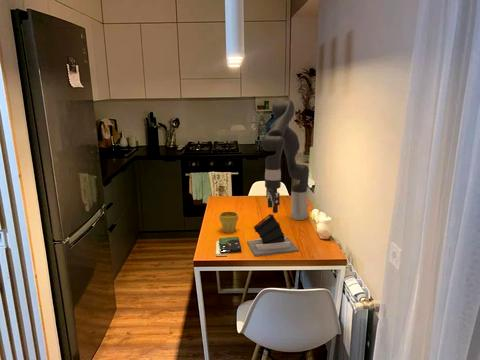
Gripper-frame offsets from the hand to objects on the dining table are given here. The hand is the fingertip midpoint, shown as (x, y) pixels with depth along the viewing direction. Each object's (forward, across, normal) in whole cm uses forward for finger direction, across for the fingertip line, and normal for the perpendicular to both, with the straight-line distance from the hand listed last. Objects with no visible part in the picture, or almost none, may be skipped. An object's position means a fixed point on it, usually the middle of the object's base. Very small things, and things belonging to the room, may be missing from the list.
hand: (272, 209), depth 181 cm
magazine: (+18, 0, 0) cm, 18 cm away
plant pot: (+20, +27, +17) cm, 38 cm away
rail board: (+20, 0, 0) cm, 20 cm away
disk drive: (+20, +6, +21) cm, 30 cm away
